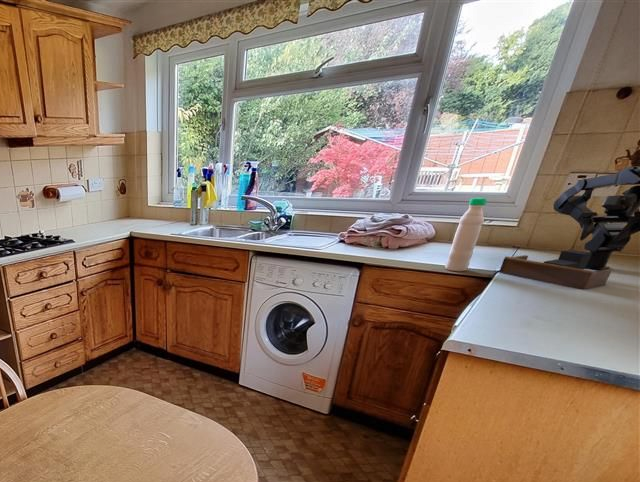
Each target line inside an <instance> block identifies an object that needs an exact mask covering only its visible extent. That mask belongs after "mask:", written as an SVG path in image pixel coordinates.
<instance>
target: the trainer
mask: <svg viewBox="0 0 640 482" xmlns="http://www.w3.org/2000/svg"><path fill="white" fill-rule="evenodd" d="M591 255H592V253H591V252H590V251H583V250H576V249H565V250H561V251H560V254H559V256H558V258H557V259H551V260H545V261H543V263H547V264H553V265H559V266H565V267H571V268H577V269H582V270H586V268H585V267H586V265H587V263H588V261H589V259H590V257H591Z"/></svg>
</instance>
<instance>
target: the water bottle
mask: <svg viewBox="0 0 640 482" xmlns="http://www.w3.org/2000/svg"><path fill="white" fill-rule="evenodd" d="M487 200H488V199H487V198H485V197H472V198H470V200H469V201H468V209H467V210H466V211H465V212H464V214H463V215H462V216H461V217H460V219H459V222H458V223H459V224H458V226H457V228H456V231H455V234H454V237H453V240H452V244H451V248H450V251H449V253H448V257H447V260H446V262H445V266H444V269H445V270H447V271H451V272H467V270H468V268H469V267H470V261H471V258H472V257H473V254H474V249H475V247H476V244H477V242H478V239H479V236H480V233H481V229H482V227H483V224H484V221H485V216H484V211H483V208H484V207H485V206H486V204H487Z"/></svg>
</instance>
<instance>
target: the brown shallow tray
mask: <svg viewBox="0 0 640 482" xmlns="http://www.w3.org/2000/svg"><path fill="white" fill-rule="evenodd" d="M528 258H529V255H525V254H524V255H518V256H517V255H516V256H505V257H504V258H503V260H502V263H501V266H500V268H499V271H498V273H501V274H506V275H510V276H516V277H521V278H525V279H531V280H535V281H541V282H545V283H550V284H555V285H559V286H560V285H561V286H565V287H571V288H576V289H580V290H586V289H591V288H596V287H602V286H606V283H607V281H608V279H609V278H610V275H611V274H612V272H613V269H611V268H607V269H602V270H594V271H593V270H588V269H585V270H582V269H577V268H571V267H565V266H559V265H553V264H547V263H544V262H541V261H536V260H529V259H528Z"/></svg>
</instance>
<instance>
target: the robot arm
mask: <svg viewBox="0 0 640 482" xmlns="http://www.w3.org/2000/svg"><path fill="white" fill-rule="evenodd" d="M614 186H632V187H630V188H629V189H627V190H625V191H623V192H622V193H621V195H607V196H605V198H604V200H603V201H602V203H601V204H600V205H601V207H602V208H604V211H603V212H604V214H605V215H599V214H598V212H597V211H592V210H591V209H590V208H589V207H587V206H588V201H590V199H591V198H592V194H593V192H594V191H595V190H596V189H601V188H608V187H614ZM581 191H584V192H583V194H581V195H577V194H579V193H580V192H581ZM553 210H554V212H557V213H558V214H561V215H566V216H569V217H571V218H572V219H573V220H575V221H576V222H577V223H578V224H579V226H580V228H581V229H582V231H581V234H580V237H579V240H580V242H582V241H584V240H585V239H587V238H588V237H589V236H590V235H592V236H591V239H590V240H588V241H587V242H585V243H584V248H583V250H585V251H588V252H591V253H592V255H591V257H590V259H589V261H588V263H587V265H586V267H585V269H591V270H596V271H599V270H604V269H611V268H610V266H608V265H607V264H608V262H609V261H610V258H611V256H612V254H613V252H618V253H619V252H621V251H622V250H623V249H624V248H625V247H626V246H627V245H628V243H629V242H630V240H631V237H632V235H634V234H637V233H639V232H640V165H635V166H633V165H631V166H628V167H626V168H623V169H620V170H619V171H618V172H614V173H610V174H606V175H600V176H595V177H589V178H582V179H580V180H578V181H577V182H576V183H575V184H574V185H573V186H572V187H569V188H568V189H566V190H565V191H564V192H562V193H561V194H560V195H559V196H558V198H557V199H556V200H555V201H554V202H553ZM624 224H626V225H624Z"/></svg>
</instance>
